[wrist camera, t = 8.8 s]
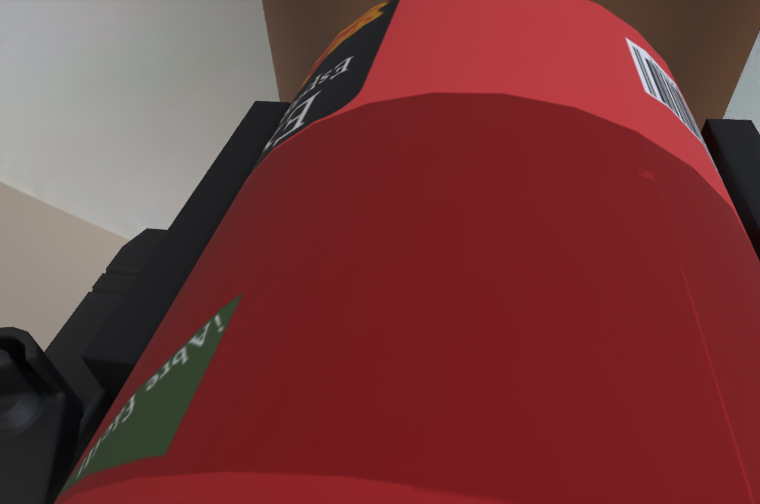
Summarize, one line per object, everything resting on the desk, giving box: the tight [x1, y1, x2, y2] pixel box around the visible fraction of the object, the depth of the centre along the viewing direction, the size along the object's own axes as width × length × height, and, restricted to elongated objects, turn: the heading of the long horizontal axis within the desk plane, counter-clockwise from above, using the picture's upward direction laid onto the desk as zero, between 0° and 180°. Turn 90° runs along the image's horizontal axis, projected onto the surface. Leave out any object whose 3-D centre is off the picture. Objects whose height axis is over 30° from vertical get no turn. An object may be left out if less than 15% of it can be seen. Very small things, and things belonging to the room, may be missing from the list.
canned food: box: [54, 0, 760, 504], centre depth 8 cm, size 8×8×11 cm
